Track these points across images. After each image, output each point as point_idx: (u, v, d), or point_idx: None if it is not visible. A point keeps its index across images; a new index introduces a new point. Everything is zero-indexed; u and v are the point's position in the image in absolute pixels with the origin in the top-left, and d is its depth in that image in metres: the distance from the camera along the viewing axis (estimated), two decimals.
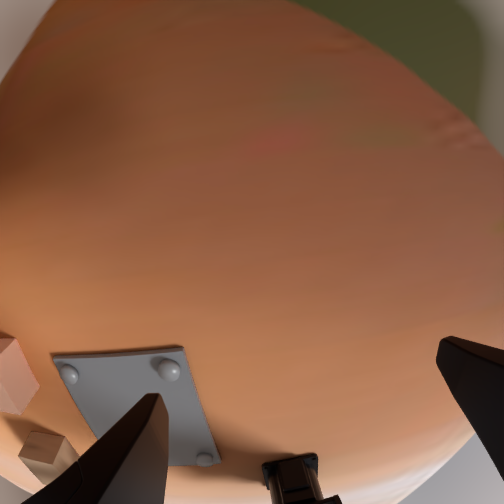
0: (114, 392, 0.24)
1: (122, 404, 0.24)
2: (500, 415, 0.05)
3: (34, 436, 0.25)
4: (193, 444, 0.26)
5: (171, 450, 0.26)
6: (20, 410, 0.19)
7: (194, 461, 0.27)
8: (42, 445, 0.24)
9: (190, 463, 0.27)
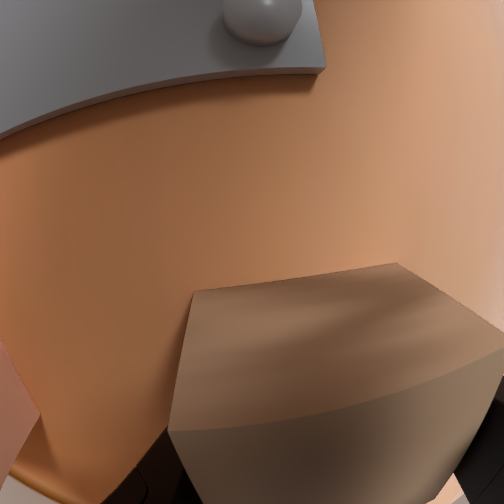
0: None
1: None
2: None
3: None
4: None
5: None
6: None
7: None
8: None
9: None
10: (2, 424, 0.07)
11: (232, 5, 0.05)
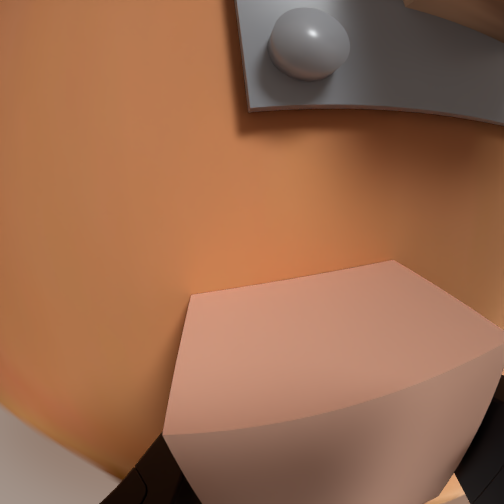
0: None
1: None
2: None
3: None
4: None
5: None
6: (492, 336, 0.04)
7: None
8: None
9: None
10: None
11: None
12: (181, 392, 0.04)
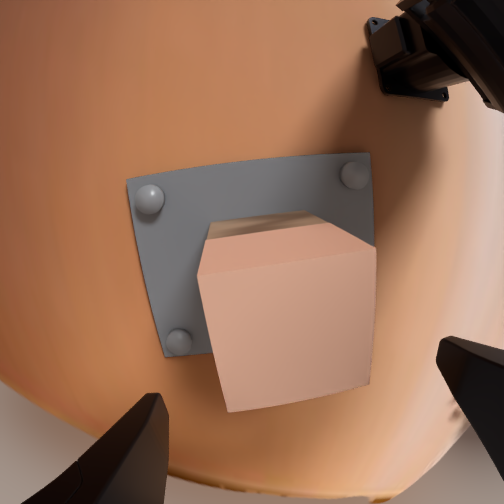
0: None
1: None
2: (500, 415, 0.05)
3: None
4: (315, 186, 0.19)
5: None
6: (363, 247, 0.10)
7: (362, 194, 0.20)
8: None
9: (368, 202, 0.20)
10: None
11: None
12: (204, 266, 0.10)
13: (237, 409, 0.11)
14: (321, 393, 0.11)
